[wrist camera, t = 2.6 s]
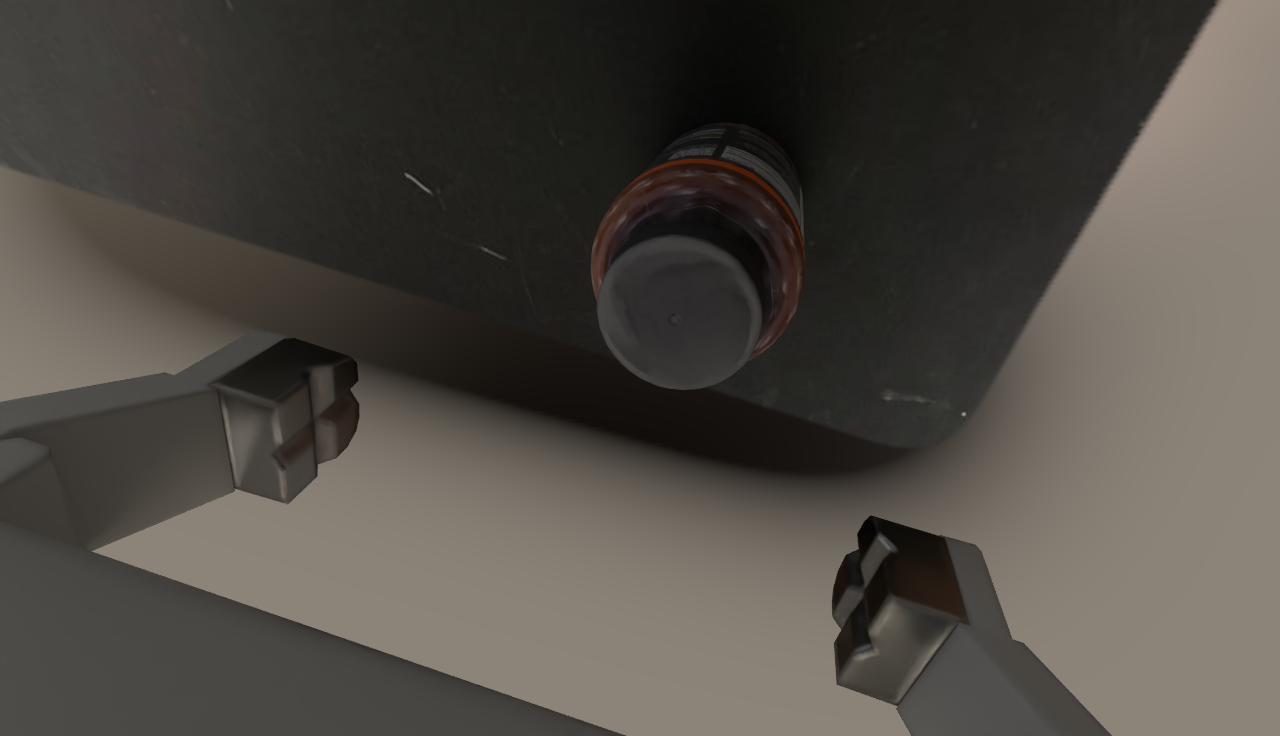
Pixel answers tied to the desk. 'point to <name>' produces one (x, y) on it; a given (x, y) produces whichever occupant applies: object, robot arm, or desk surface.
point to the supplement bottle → (701, 257)
